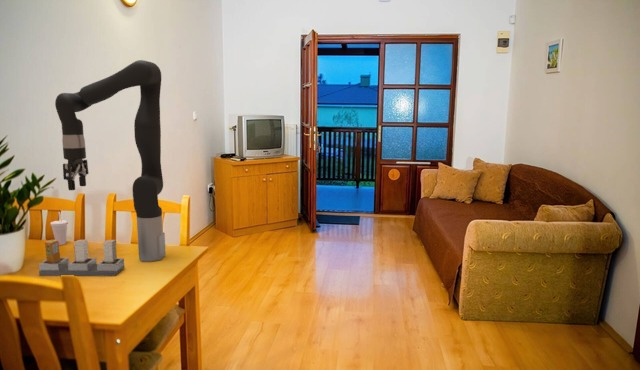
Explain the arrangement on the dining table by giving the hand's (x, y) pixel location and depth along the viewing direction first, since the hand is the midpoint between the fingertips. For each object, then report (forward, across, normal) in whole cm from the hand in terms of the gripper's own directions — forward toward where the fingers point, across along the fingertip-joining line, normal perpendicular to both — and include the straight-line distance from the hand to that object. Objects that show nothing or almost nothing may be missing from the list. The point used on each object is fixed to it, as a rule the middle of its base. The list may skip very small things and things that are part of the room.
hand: (77, 188), depth 168 cm
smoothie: (+27, +13, +16) cm, 34 cm away
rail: (+27, -18, -9) cm, 34 cm away
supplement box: (+26, -18, +1) cm, 32 cm away
